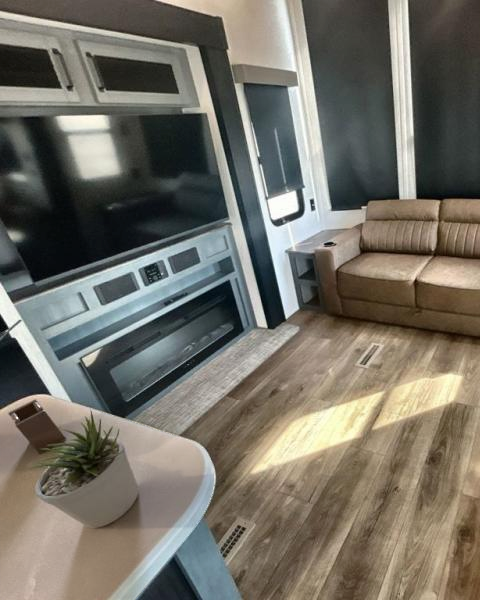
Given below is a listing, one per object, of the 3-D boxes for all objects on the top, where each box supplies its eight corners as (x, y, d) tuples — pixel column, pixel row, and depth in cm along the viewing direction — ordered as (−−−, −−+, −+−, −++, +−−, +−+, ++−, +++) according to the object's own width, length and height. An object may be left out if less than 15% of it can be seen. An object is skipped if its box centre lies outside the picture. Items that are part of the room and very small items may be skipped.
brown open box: (31, 440, 87) (7, 412, 83) (56, 425, 91) (35, 399, 86) (39, 454, 83) (15, 426, 79) (66, 438, 86) (44, 411, 82)
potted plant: (113, 547, 62) (46, 470, 52) (54, 533, 65) (-18, 459, 56) (169, 481, 72) (122, 407, 63) (116, 471, 76) (64, 400, 66)
